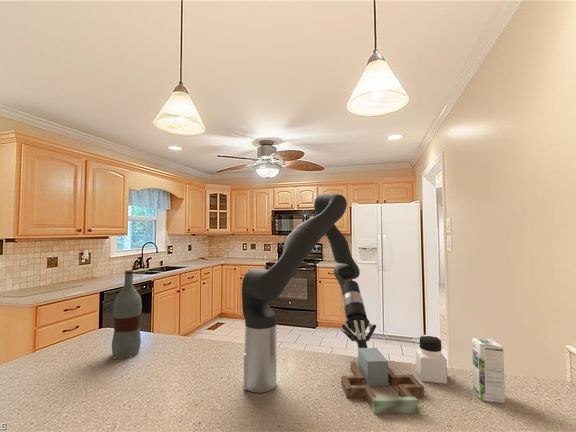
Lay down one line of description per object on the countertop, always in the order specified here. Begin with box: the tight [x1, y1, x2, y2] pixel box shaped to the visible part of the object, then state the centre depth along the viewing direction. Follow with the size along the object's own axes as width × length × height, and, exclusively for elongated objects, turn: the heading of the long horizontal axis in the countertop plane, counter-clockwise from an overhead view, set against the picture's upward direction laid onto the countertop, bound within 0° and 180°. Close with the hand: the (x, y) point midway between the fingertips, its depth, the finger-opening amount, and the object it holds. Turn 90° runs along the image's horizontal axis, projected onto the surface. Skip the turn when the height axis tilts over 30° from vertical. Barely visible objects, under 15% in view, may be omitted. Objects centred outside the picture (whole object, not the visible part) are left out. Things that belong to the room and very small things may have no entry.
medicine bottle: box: [415, 334, 448, 385], centre depth 90 cm, size 7×7×12 cm
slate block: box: [357, 347, 389, 387], centre depth 90 cm, size 6×10×7 cm, turn 2°
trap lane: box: [340, 361, 425, 415], centre depth 83 cm, size 21×23×3 cm
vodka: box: [111, 269, 143, 359], centre depth 107 cm, size 9×9×30 cm
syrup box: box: [471, 337, 506, 404], centre depth 79 cm, size 6×6×14 cm
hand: (363, 352), depth 99 cm, fingers closed
